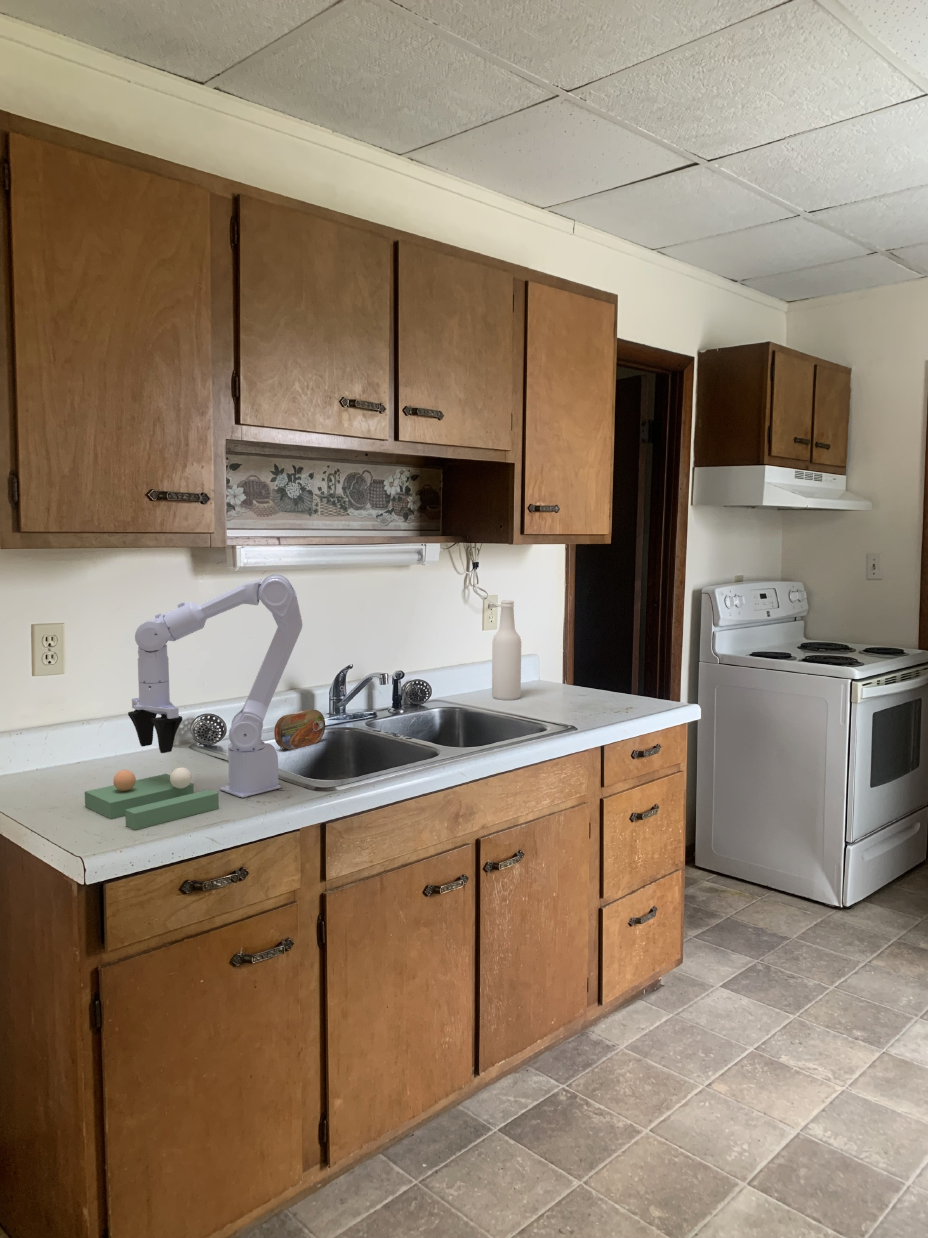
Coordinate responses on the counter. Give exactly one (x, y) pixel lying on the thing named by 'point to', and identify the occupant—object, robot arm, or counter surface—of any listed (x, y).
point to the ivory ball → (180, 777)
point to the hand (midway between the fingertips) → (156, 748)
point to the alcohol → (506, 656)
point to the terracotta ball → (124, 780)
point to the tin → (299, 729)
